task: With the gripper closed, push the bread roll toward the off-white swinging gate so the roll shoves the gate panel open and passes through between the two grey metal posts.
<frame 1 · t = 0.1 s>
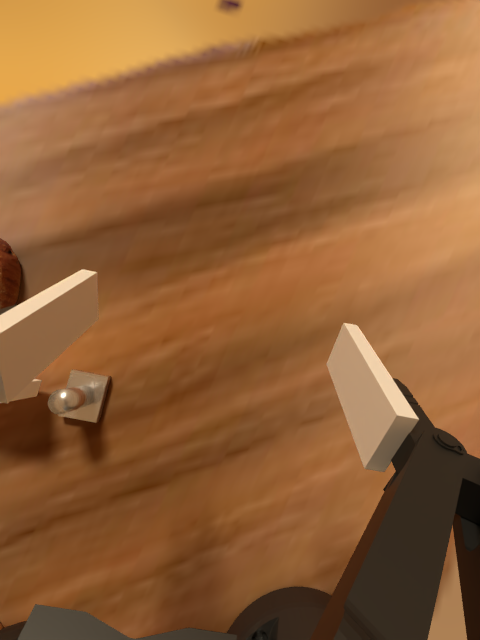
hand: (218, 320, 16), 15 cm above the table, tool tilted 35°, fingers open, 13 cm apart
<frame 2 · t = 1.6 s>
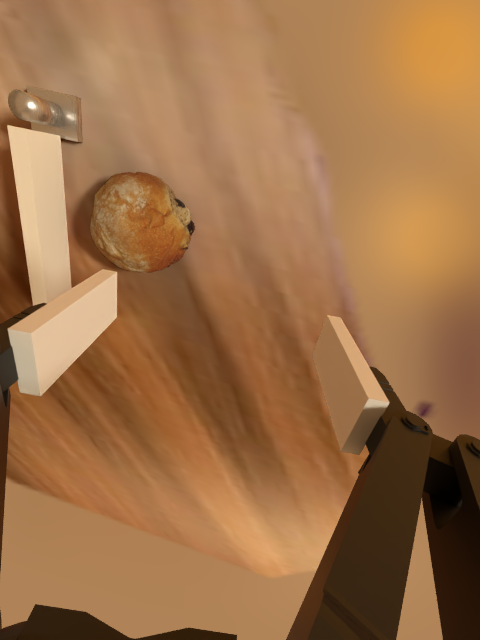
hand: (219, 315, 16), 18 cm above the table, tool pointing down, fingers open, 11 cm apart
bread roll: (149, 222, 32), on the table
gate: (46, 227, 29), point 3 cm above the table, hinge at 0.0°
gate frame: (67, 232, 33), on the table
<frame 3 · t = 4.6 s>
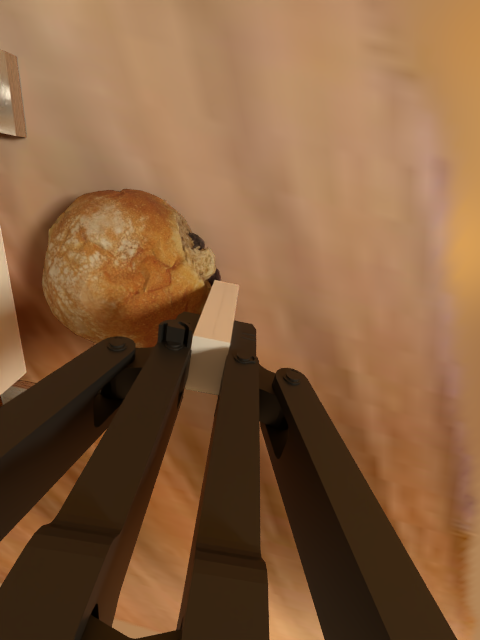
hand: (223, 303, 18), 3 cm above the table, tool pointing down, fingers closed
bread roll: (146, 266, 20), on the table, touching gripper
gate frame: (13, 281, 21), on the table
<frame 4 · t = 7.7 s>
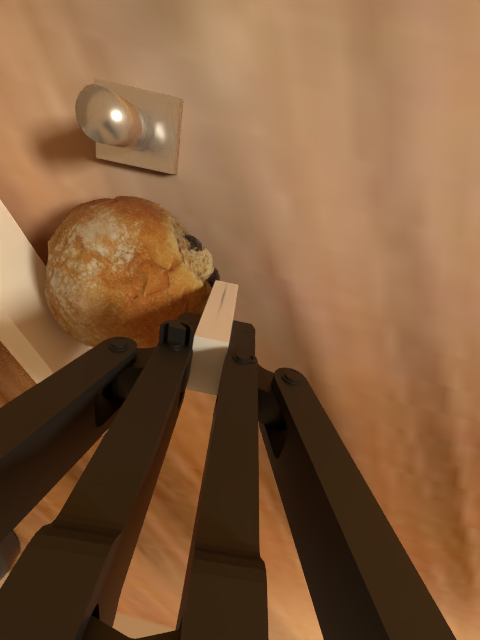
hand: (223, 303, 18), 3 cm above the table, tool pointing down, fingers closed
bread roll: (146, 272, 20), on the table, touching gate, gripper
gate: (37, 317, 18), point 3 cm above the table, hinge at 31.4°, touching bread roll
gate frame: (135, 306, 21), on the table
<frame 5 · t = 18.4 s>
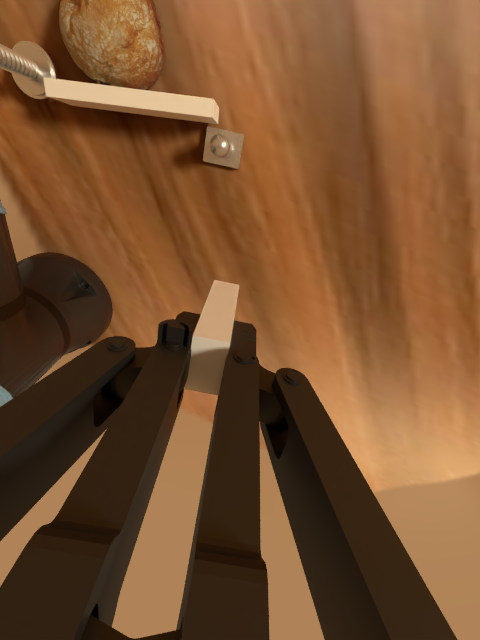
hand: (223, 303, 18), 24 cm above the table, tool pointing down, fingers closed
bread roll: (121, 37, 31), on the table
gate: (137, 102, 31), point 3 cm above the table, hinge at 94.9°
screw: (46, 77, 33), on the table
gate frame: (242, 26, 30), on the table
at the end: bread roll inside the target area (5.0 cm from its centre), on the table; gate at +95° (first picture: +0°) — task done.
